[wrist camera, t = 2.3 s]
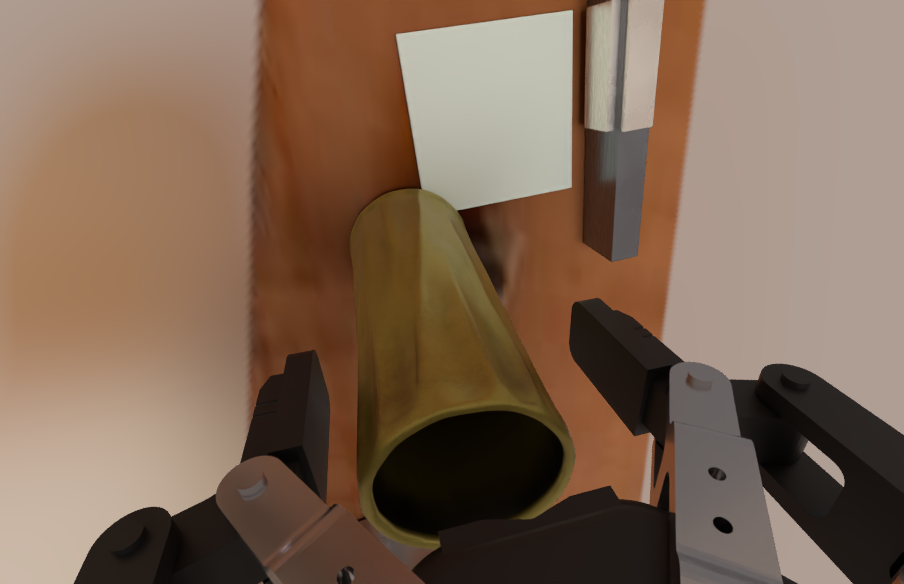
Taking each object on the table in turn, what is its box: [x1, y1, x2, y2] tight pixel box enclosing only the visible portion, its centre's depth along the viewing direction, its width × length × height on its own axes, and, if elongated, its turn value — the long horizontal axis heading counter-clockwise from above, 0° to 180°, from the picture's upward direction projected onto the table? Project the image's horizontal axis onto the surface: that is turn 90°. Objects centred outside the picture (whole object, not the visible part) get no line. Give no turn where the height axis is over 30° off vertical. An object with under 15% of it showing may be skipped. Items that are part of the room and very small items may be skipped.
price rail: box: [583, 0, 664, 262], centre depth 20 cm, size 14×2×3 cm, turn 7°
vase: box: [350, 189, 576, 549], centre depth 16 cm, size 6×6×14 cm
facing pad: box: [395, 10, 573, 211], centre depth 20 cm, size 8×8×1 cm
